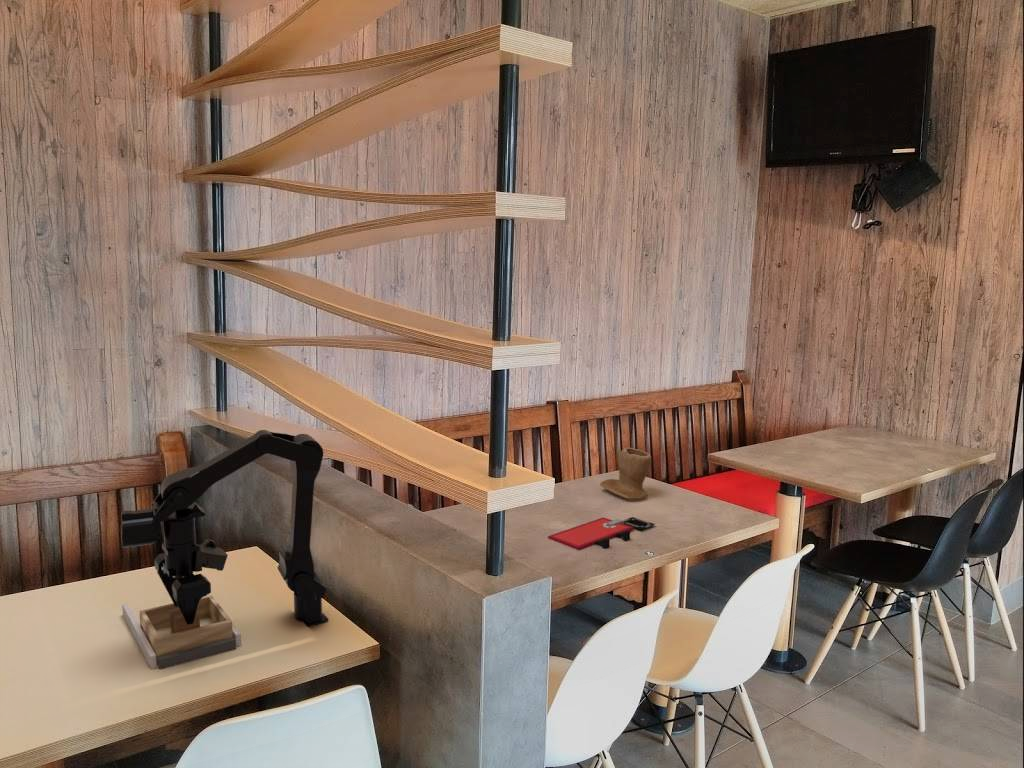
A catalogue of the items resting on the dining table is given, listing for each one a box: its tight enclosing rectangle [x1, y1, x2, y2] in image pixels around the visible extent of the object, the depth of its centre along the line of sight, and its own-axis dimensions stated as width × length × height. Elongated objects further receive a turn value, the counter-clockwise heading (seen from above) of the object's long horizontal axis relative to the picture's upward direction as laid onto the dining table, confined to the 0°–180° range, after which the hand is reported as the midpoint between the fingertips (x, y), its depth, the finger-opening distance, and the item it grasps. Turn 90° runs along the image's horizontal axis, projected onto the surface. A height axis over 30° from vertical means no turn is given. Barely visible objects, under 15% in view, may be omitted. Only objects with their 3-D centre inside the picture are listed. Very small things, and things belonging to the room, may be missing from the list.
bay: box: [121, 593, 242, 670], centre depth 169 cm, size 28×18×3 cm, turn 35°
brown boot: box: [599, 447, 652, 500], centre depth 264 cm, size 15×12×15 cm
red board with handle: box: [547, 516, 656, 551], centre depth 231 cm, size 30×3×15 cm
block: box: [170, 608, 200, 634], centre depth 165 cm, size 4×4×5 cm
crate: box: [139, 594, 233, 665], centre depth 165 cm, size 14×14×5 cm
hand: (183, 614), depth 165 cm, fingers open, 9 cm apart
